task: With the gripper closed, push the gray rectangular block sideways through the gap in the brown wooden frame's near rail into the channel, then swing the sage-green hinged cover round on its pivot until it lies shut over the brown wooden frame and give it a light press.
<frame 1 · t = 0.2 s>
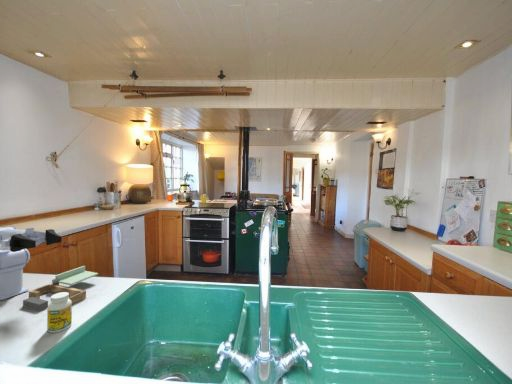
hand: (48, 241, 78), 21 cm above the countertop, tool horizontal, fingers open, 7 cm apart
cover: (75, 275, 92), point 4 cm above the countertop, hinge at 90.0°
supplement bottle: (59, 328, 67), on the countertop
gray rectangular block: (35, 307, 77), on the countertop
brown wooden frame: (57, 298, 83), on the countertop
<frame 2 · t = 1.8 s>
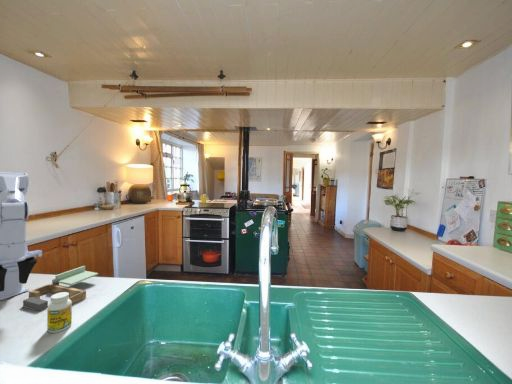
hand: (11, 286, 70), 9 cm above the countertop, tool pointing down, fingers open, 5 cm apart
nothing on the countertop moved.
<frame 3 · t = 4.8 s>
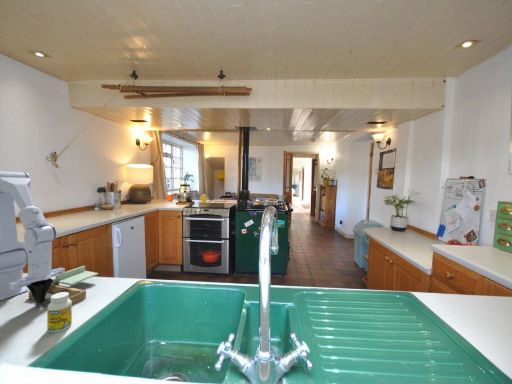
hand: (39, 302, 78), 1 cm above the countertop, tool pointing down, fingers closed
gray rectangular block: (47, 302, 80), on the countertop
everything else where it was.
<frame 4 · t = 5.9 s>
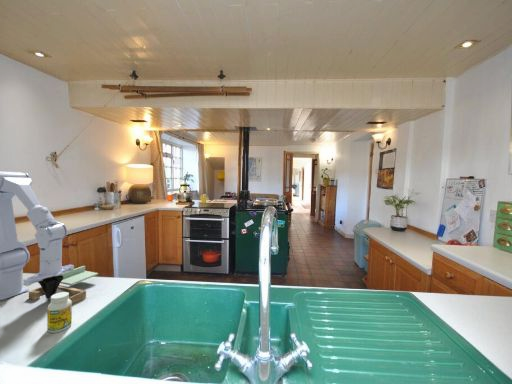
hand: (50, 297, 81), 1 cm above the countertop, tool pointing down, fingers closed
gray rectangular block: (59, 298, 83), on the countertop
everything else where it was.
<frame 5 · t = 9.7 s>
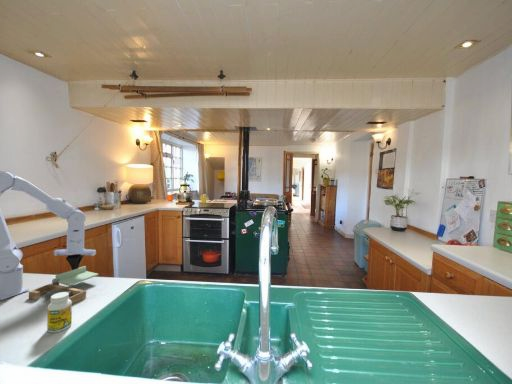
hand: (75, 272, 96), 4 cm above the countertop, tool pointing down, fingers closed, pressing on cover
cover: (75, 275, 92), point 4 cm above the countertop, hinge at 86.8°, touching gripper
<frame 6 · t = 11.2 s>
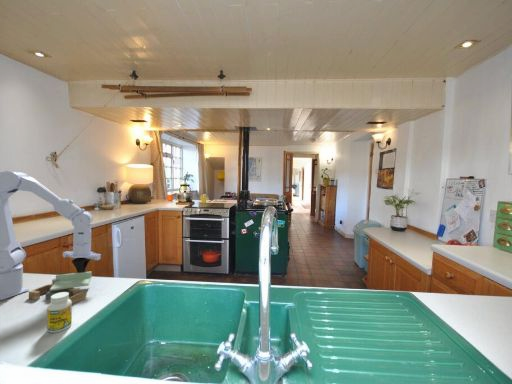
hand: (81, 275, 93), 4 cm above the countertop, tool pointing down, fingers closed, pressing on cover
cover: (70, 280, 88), point 4 cm above the countertop, hinge at 43.2°, touching gripper
everything else where it was.
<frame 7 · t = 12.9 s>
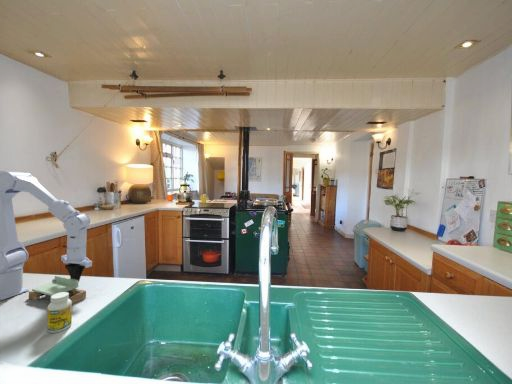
hand: (75, 282, 88), 4 cm above the countertop, tool pointing down, fingers closed, pressing on cover
cover: (56, 284, 84), point 4 cm above the countertop, hinge at -1.6°, touching gripper
everything else where it was.
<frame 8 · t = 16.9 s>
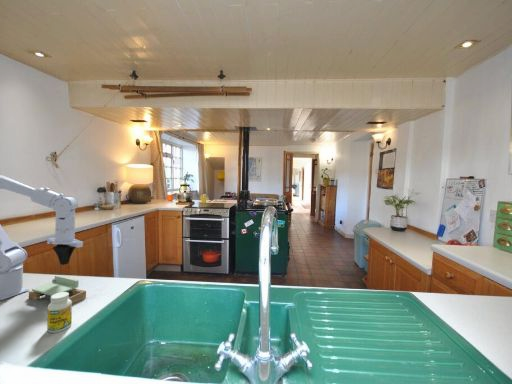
hand: (64, 264, 89), 10 cm above the countertop, tool pointing down, fingers closed
cover: (56, 284, 84), point 4 cm above the countertop, hinge at -1.5°
everything else where it was.
at the end: gray rectangular block inside the target area (0.8 cm from its centre), on the countertop; cover at -2° (first picture: +90°) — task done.
